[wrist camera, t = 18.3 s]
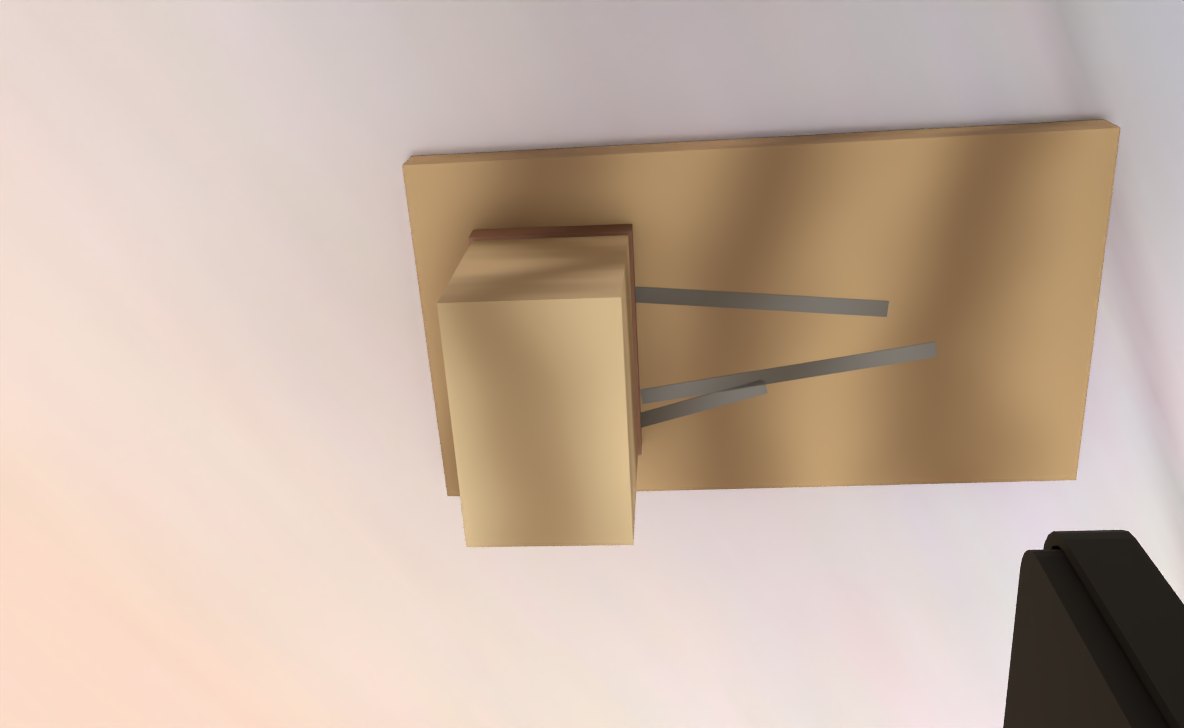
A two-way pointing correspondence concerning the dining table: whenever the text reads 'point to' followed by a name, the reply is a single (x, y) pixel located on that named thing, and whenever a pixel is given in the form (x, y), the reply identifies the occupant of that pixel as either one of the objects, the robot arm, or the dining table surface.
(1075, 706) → the robot arm
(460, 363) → the block
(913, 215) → the board
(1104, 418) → the dining table surface
